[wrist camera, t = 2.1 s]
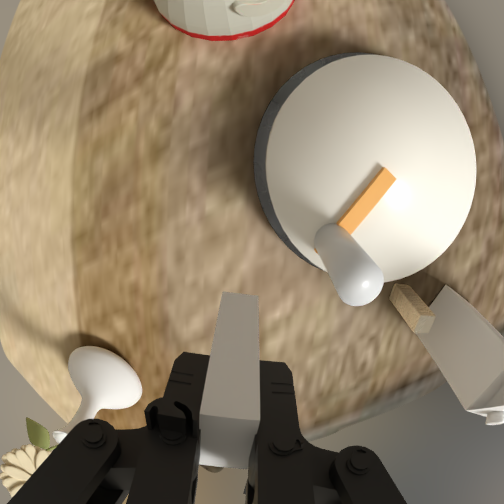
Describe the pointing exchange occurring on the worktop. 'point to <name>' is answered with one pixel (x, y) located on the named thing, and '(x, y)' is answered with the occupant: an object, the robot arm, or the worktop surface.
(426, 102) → the dial
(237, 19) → the kitchen timer
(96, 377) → the flower in vase
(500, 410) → the milk carton
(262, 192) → the dial base
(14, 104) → the worktop surface
